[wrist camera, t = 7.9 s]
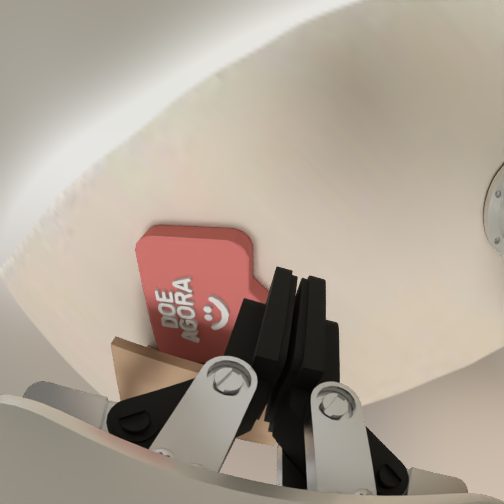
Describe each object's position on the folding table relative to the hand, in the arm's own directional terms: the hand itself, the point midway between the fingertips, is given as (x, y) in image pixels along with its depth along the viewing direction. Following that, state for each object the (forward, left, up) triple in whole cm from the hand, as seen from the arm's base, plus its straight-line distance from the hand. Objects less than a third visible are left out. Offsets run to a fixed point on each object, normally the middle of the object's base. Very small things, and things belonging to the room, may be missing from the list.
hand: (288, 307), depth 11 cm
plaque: (+5, +17, -21) cm, 28 cm away
